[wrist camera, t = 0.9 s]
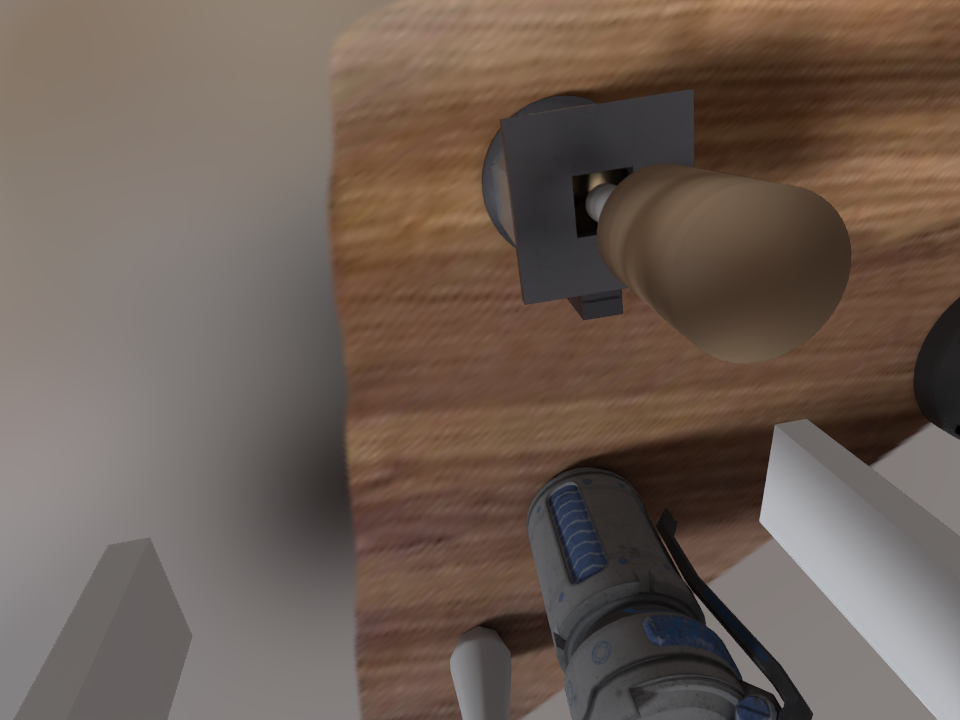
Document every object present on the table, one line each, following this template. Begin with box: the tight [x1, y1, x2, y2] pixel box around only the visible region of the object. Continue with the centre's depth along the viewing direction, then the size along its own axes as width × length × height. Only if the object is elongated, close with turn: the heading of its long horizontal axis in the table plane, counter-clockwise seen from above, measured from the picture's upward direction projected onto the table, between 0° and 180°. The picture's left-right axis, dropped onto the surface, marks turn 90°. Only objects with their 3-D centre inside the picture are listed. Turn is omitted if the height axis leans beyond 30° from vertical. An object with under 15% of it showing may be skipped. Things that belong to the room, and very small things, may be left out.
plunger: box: [586, 163, 851, 363], centre depth 24 cm, size 5×5×16 cm
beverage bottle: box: [527, 467, 813, 720], centre depth 41 cm, size 10×13×25 cm
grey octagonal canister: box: [482, 89, 694, 320], centre depth 37 cm, size 12×11×12 cm
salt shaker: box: [450, 626, 511, 720], centre depth 52 cm, size 6×6×13 cm
